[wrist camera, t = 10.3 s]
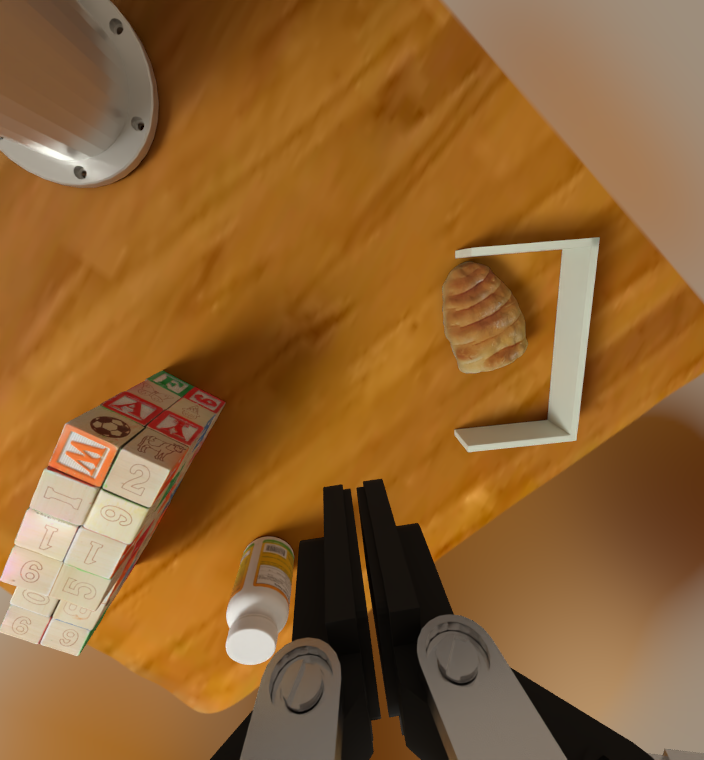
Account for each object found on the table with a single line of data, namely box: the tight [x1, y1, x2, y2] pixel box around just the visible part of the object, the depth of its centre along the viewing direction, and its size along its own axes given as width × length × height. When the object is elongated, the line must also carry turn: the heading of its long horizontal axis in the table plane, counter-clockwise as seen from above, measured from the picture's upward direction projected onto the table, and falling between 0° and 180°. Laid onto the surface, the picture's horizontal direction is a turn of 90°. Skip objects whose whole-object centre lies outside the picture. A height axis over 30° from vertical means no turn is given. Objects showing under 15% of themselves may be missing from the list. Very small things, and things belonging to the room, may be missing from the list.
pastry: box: [442, 262, 528, 373], centre depth 30 cm, size 9×7×4 cm
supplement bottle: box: [226, 536, 294, 665], centre depth 33 cm, size 5×5×10 cm
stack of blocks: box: [0, 371, 225, 656], centre depth 28 cm, size 21×6×12 cm, turn 149°
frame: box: [455, 237, 600, 452], centre depth 31 cm, size 17×10×4 cm, turn 5°
